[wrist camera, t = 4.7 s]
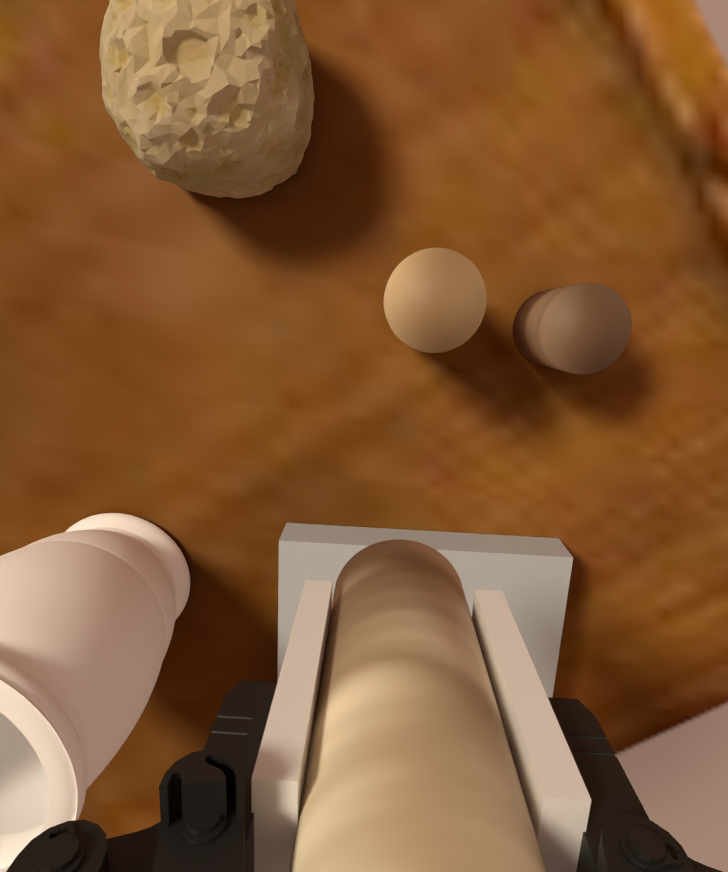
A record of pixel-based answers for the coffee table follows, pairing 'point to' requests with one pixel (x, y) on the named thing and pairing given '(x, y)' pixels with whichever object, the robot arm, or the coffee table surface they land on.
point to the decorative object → (210, 90)
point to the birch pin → (408, 731)
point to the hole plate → (473, 561)
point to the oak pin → (435, 300)
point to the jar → (78, 661)
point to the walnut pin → (573, 328)
